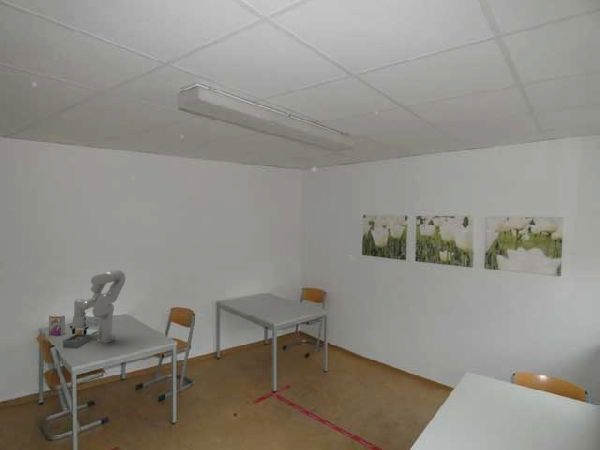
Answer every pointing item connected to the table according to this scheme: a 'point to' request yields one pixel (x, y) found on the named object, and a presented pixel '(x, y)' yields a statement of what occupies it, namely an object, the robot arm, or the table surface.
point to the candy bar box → (56, 324)
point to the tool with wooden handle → (89, 331)
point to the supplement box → (92, 319)
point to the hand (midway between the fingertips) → (79, 334)
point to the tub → (76, 344)
